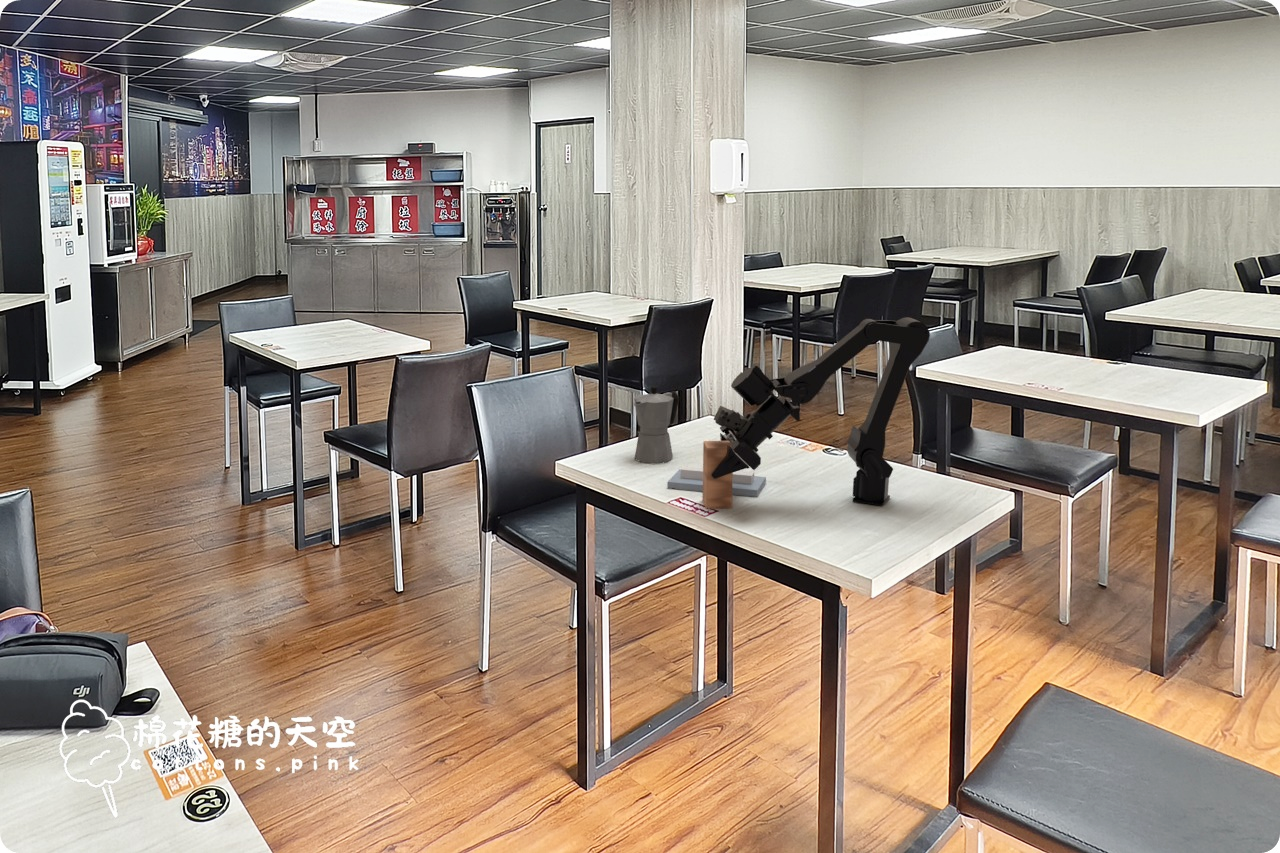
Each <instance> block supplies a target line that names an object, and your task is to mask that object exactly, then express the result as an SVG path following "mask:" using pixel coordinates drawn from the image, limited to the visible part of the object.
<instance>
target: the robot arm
mask: <svg viewBox="0 0 1280 853" xmlns="http://www.w3.org/2000/svg"><path fill="white" fill-rule="evenodd" d="M930 337H931V332H930V330H929V328H928V326H927V325H926V324H925V323H924V322H922V321H919V320H917V319H914V318H912V317H906V316H905V317H902V318H899V319H898V320H888V319H879V320H878V319H871V318H864V319H863V320H862V321H861V322H860V323H859V324H858V325H857V326H856V327H855V328H854V329H852V330H851V331H850V332H848V333H847V334H846V335H845V336H843V337H842V338H841V339H840V340H838V342H836V343H835V344H834V345H832V347H830V348H829V349H828V350H826V351H825V352H824V353H822V355H820V356H819V357H818V358H816V359H815V360H813V361H812V362H809V363H807V364H804V365H801V366H800V367H798V368H796V369H794V370H792V371H791V372H789V373H787V375H786V376H783V377H777V378H771V379H770V378H769V377H768V376H767V375H766V374H765V373H764V372H763V370H762V369H761V368H760V367H759V366H758V365H757V364H755V363H754V364H753V365H752V366H751V367H749V368H747V369H745V370H744V371H742V372H740V373H739V374H738V375H737V376H736V377H735V378H734V380H733V381H732V382H731V385H730V386H731V387H730V388H732V390H734V391H735V392H736V393H737V394H738V395H739V396H740V397H741V399H743V400H744V401H745V402H746V403H747V404H748V405H749V406H751V407H752V406H756V407H757V406H759V407H757V409H756V410H754V411H753V412H752V413H751V412H746V413H745V414H744V415H742V414H741V413H740V412H737V411H735V410H734V409H729V408H728V407H725V406H722V405H719V408H717V409H718V410H717V412H716V414H715V416H714V418H713V420H714V421H715V424H716V425H718V426H719V429H720V431H721V432H722V433H721V432H720V433H719V438H720V440H719V441H730V443H731V447H732V448H731V447H730V446H729V445H727V455H726V456H725V458H724V459H723V460H722V461H721V463H720V464H719V465H718V466H717V468H716V469H715V470H714V472H713V473H712V475H711V476H712V477H713V478H714V479H716V478H719V477H722V476H724V475H727V474H730V473H733V472H736V471H743V470H745V469H752V470H753V471H755V470H756V469H758V468H759V466H760V465H761V463H762V462H761V461H762V457H761V456H760V454H759V453H758V452H759V446H761V444H762V443H764V441H765V440H767V439H768V440H771V439H772V438H773V437H774V435H773V433H774V432H775V431H776V430H777V429H778V428H779V427H780V426H782V424H783V423H784V422H786V421H787V419H788V418H789V417H792V418H793V419H794V420H795V421H796V422H800V420H801V418H800V415H801V407H800V406H799V405H806V404H808V403H810V402H811V401H812V400H813V399H814V398H816V396H817V395H818V394H819V392H820V391H821V390H822V389H823V388H824V386H825V384H826V383H827V381H828V380H829V379H830V377H831V376H832V375H834V374H835V373H836V372H838V371H839V369H841V368H843V366H845V365H846V364H847V363H849V362H850V361H851V360H852V359H853V358H855V357H856V356H858V355H859V353H861V352H862V351H863V350H865V349H866V348H867V347H868V346H869V345H871V344H872V343H873V342H875V341H877V342H886V343H889V355H888V356H889V357H888V361H887V362H886V366H885V368H884V370H883V373H882V375H881V378H880V381H879V384H878V386H877V389H876V392H875V394H874V397H873V399H872V402H871V404H870V407H869V409H868V413H867V415H866V418H865V420H864V422H863V423H862V424H861V425H859V427H857V426H855V425H853V426H851V431H850V435H849V437H848V439H847V440H846V441H845V443H846V445H847V448H846V450H847V454H848V456H849V458H851V460H852V461H853V462H854V463H855V465H856V467H857V468H858V470H857V471H856V474H855V475H856V476H854V478H853V481H852V482H853V486H852V496H853V498H852V502H855V503H861V504H865V505H866V504H867V505H874V506H881V507H883V506H884V505H885V504H886V503H887V501H889V499H890V497H891V496H890V495H889V484H890V477H891V476H892V473H893V471H894V468H893V467H892V466H891V464H889V463H888V462H887V461H886V460H885V459H884V454H885V448H886V432H887V427H888V424H889V421H890V420H891V417H892V414H893V411H894V408H895V406H896V404H897V401H898V398H899V396H900V393H901V390H902V389H903V386H904V383H905V380H906V378H907V375H908V373H909V370H910V367H911V366H912V365H913V363H914V362H915V361H916V360H917V359H918V358H919V357H920V356H921V355H922V353H923V351H924V349H925V348H926V346H927V344H928V342H929V341H930ZM773 391H775V392H776V393H777V394H779V396H780V398H778V397H777V396H776V395H775V394H774V393H773ZM787 398H788V399H790V401H792V402H793V403H795V404H799V405H793V404H792V403H790V401H789V400H788V399H787Z"/></svg>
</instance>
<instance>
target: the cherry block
mask: <svg viewBox="0 0 1280 853" xmlns="http://www.w3.org/2000/svg"><path fill="white" fill-rule="evenodd" d="M727 445H729V446H730V447H731V443H730V441H720V440H703V448H702V449H703V452H702V456H703V457H702V459H703V460H702V461H703V462H702V467H703V492H702V502H703V505H704V507H705V509H706V508H708V509H732V508H733V495H732V480H733V473H730V474H727V475H724V476H722V477H719V478H716V479H714V478H713V477H712V476H711V475H712V473H713V472H714V470H715V469H716V468H717V466H718V465H719V464H720V463H721V461H722V460H723V459H724V458H725V456H726V455H727ZM731 448H732V447H731Z"/></svg>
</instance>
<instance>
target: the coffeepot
mask: <svg viewBox="0 0 1280 853" xmlns="http://www.w3.org/2000/svg"><path fill="white" fill-rule="evenodd" d="M650 390H651V391H650V392H651V393H647V394H642V395H641V394H640V395H638V396H636V397H635V398H634V399H633V400H634V402H633V406H634V407H635V413H636V418H637V425H638V426H639V433H638V435H637V441H636V448H635V449H636V450H635V454H634V458H636V459H637V460H639V461H641V462H640V463H643V462H645V463H644V464H650V463H659V464H665V463H668V461H669V462H671V460H672V459H673V458H674V457H673V455H674V454H673V450H672V444H671V443H672V442H671V436H670V433H669V431H668V428H669V426H670V425H673V424H674V423H675V419H676V414H677V410H678V406H679V403H680V396H679V395H678V393H676V391H674V390H673V391H669V392H664V393H663V394H661V393H658V386H656V385H653V386H650ZM637 460H636V461H637ZM639 461H638V462H639ZM663 462H664V463H663Z"/></svg>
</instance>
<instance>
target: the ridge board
mask: <svg viewBox="0 0 1280 853" xmlns="http://www.w3.org/2000/svg"><path fill="white" fill-rule="evenodd" d="M666 484H667V489H670V488H675V489H674V490H680V489H683V491H692V492H693V491H694V492H702V493H703V466H689V465H683V466H682V468H680V469H678V470H677V471H676V472H675V473H674V475H672V476H671V478H669V479H668V480H667V483H666ZM766 484H767V476H758V475H755V471H745V470H739V471H736V472H733V480H732V496H733V495H734V496H745V497H754V498H757V497H758V496H759V495H760V493H761V491H762V490H763V489H764V488H765V485H766Z"/></svg>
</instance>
